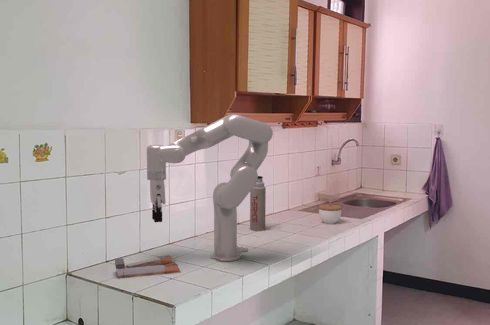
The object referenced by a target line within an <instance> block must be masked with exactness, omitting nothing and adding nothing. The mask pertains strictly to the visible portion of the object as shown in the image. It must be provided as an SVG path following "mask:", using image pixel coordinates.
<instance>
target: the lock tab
mask: <svg viewBox="0 0 490 325" xmlns="http://www.w3.org/2000/svg"><path fill="white" fill-rule="evenodd" d="M114 265H115V270H116V269H121V268H125V266H126V263H125V260H124V258H114Z"/></svg>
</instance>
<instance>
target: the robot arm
mask: <svg viewBox="0 0 490 325" xmlns="http://www.w3.org/2000/svg"><path fill="white" fill-rule="evenodd" d="M273 135H274V132H273V128H272V127H271V125H269V124H268V123H266V122H263V121H259V120H257V119H254V118H249V117H247V116H243V115H240V114H235V113H233V114H229V115H228V114H227V115H226V116H224V117H222V118H219V119H217V120H216V121H214V122H211V123H210V124H208V125H205V126H204V127H201V128H200V129H197V130H196V131H193V132H191V133H190V134H187V135H186V136H183V137H182V138H180V139H177V140H175V141H174V142H171V143H170V144H168V145H163V144H149V145H147V148H146V180H147V181H149V191H150V192H149V194H150V196H149V197H150V203H152V213H151V215H152V220H153V222H154V223H162V222H163V209H162V208H163V207H162V206H163V205H166V189H165V186H166V185H165V180H167V163H168V164H180V163H182V162H184V160H185V159H186V157H187V156H189V155H191V154H193V153H194V152H197V151H201V150H206V149H209V148H212V147H214V146H216V145H217V144H220V143H221V142H224V141H225V140H227V139H230V138H231V137H233V136H235V137H237V138H241V139H244V140H248V146H247V148H246V150H245V151H244V152H243V155H242V156H241V157H240V158H239V159H238V161H237V162H236V163H235V164H234V165H233V167H232V168H231V170H230V178H229V180H228V182H220V183H218V184H217V185H216V186H215V187H214V189H213V192H212V202H213V252H212V253H211V254H210V259H211V260H213V261H216V262H234V261H237V260H239V259H241V254H242V253H249V252H248V251H249V248H248V247H243V246H240V247H239V246H238V245H237V244H238V240H237V239H238V231H237V230H238V229H237V228H238V223H237V222H238V212H237V208H238V207H239V206H240V205H241V204H242V203H243V202H244V200H245V199H246V198H247V196H248V195H249V193H250V191H251V190H252V188H253V187H254V185H255V184H256V182H257V178H258V176H259V175H258V170H259V168H260V167H261V165H262V164H263V162H265V159H266V157H267V155H268V151H269V142H270V141H271V140H272V138H273Z"/></svg>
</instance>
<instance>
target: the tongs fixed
mask: <svg viewBox="0 0 490 325" xmlns="http://www.w3.org/2000/svg"><path fill="white" fill-rule="evenodd" d="M178 268H179V265H178V263H176V264H167V265H156V266H145V267H134V268H121V269H117V271H116V276H117V278H118V277H125V276H136V275H147V274H157V273H169V272H178Z"/></svg>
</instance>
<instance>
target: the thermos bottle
mask: <svg viewBox="0 0 490 325" xmlns="http://www.w3.org/2000/svg"><path fill="white" fill-rule="evenodd" d="M263 179H264V178H263V176H260V175H258V178H257V182H256V184H255V185H254V187H253V188H252V190H251V191H250V192H249V193H250V194H249V195H250V196H249V219H250V221H249V230H250V231H252V230H253V232H263V231H266V199H267V197H266V186H265V182H264V181H263Z"/></svg>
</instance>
